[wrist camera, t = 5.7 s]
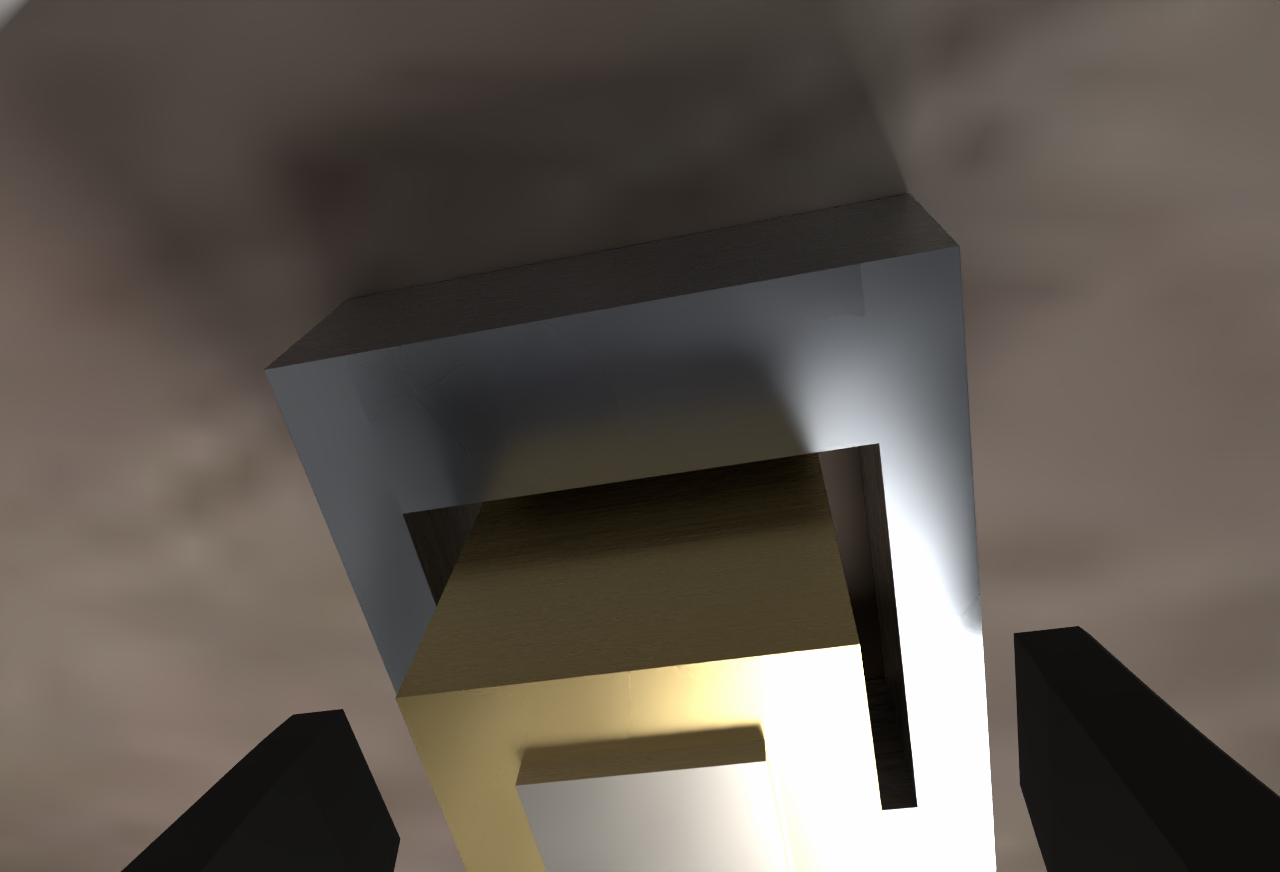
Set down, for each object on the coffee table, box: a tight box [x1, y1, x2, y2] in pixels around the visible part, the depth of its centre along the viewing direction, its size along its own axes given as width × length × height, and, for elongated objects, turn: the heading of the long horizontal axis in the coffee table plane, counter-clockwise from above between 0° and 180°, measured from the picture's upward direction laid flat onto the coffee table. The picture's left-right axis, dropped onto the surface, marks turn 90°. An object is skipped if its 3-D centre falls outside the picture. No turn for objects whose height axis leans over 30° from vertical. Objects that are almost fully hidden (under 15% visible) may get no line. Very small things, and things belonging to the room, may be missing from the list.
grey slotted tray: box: [264, 194, 996, 872], centre depth 14 cm, size 17×7×2 cm, turn 12°
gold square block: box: [396, 452, 890, 872], centre depth 11 cm, size 4×4×5 cm
